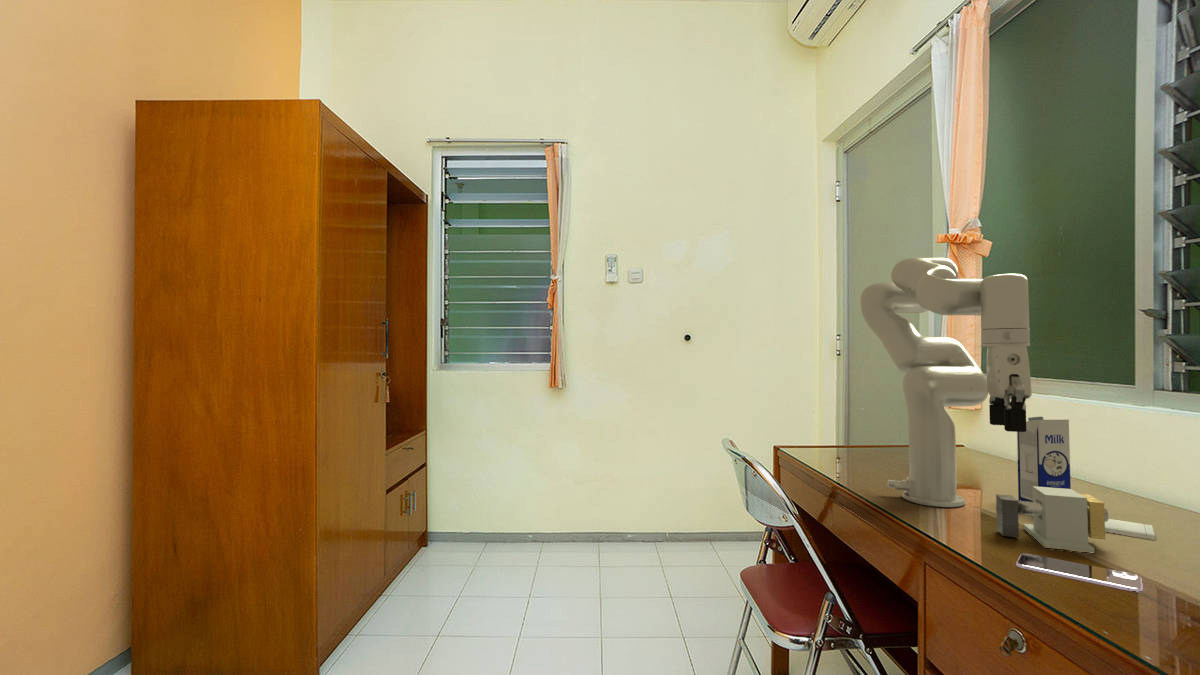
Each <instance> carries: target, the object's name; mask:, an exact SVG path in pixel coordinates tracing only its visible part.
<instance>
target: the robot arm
mask: <svg viewBox="0 0 1200 675" xmlns="http://www.w3.org/2000/svg"><path fill="white" fill-rule="evenodd" d="M890 276H891V277H890V278H891V280H892V281H885V282H884V281H883V282H881V281H880V282H876V283H873V284H870V285H868V286H866V287H865V288H864V289H863V290H862V292H861V295H860V309H861V314H862V316H863V318H864V321H865V323H866V324H867V326H868V328H870V330H871V331H872V332H873V333H874V335H876V336H877V338H878V339H879V340H880V342H881V343H882V345H883V347H884V349H885V350H886V351H887V353H888V355H889V356H890V359H891V361H892V362H893V363H894V365H895V366H896V368H897V369H898V370H899V371H900V372H902V373H904V376H903V379H902V390H903V395H904V398H905V404H906V410H907V419H908V420H907V421H908V422H907V423H908V424H907V425H908V427H907V428H908V430H907V431H908V461H909V462H908V466H909V468H908V469H909V476H906V479H902V480H896V479H887V488H889V489H894V490H898V491H899V490H900V491H902V490H903V491H902V493H901V495H902V498H903V499H904V500H906V501H908V502H911V503H913V504H918V505H924V506H928V507H937V508H938V507H939V508H957V507H963V506H964V505H965V504H966V500H965V498H964V497H963V496H961V495H959V494H957V493H958V491H957V452H956V450H957V448H956V446H957V445H956V444H957V443H956V441H957V440H956V426H955V424H954V421H953V419H952V417H951V416H950V415H949V413H948V412H947V410H946V409H945V408H946V407H949V408H950V407H974V406H978V405H981V404H982V403H984V402H985V401H986V400H987V398H988V395H989V396H990V397H989V405H988V408H989V424H990V425H992V426H1004V431H1005V432H1014V433H1017V432H1026V421H1027V410H1026V409H1027V404H1026V400H1028V399H1030V398H1031V397H1032V382H1031V380H1032V379H1031V370H1030V360H1029V355H1028V354H1029V352H1028V347H1031V343H1030V342H1031V340H1030V335H1031V333H1030V301H1029V281H1028V278H1027V276H1026V275H1023V274H1021V273H1002V274H1001V273H1000V274H994V275H989V276H985V277H984V278H982V279H980V278H959V270H958V266H957V265H956V263H955V262H953V261H952V259H949V258H945V257H910V258H909V257H908V258H905V259H902V260H900V261H898V262H897V263H896V264H895V265H894V266H893V267H892V270H891V274H890ZM928 311H929V312H932V313H933V314H937V315H942V316H948V317H949V316H976V317H977V316H980V329H981V330H980V332H981V336H980V337H981V339H980V340H981V347H987V348H986V349H987V350H986V375H985V374H984V372H983V370H982V369H981V368H980V367H979V365H978V364H977V363H976V361H975V360H974V359H973V357H972V356H971V354H970V353H969V352H968V350H967V349H966V348H965V346H963V344H962V343H960V342H959V341H958V340H956V339H955V338H952V337H948V336H926V335H921V334H920V332H919V331H917V329H916V328H915V326H914V325H913V324H912V323H911V322H910V321H909V320H908V319H906V318H904V317H903V316H901V315H899V314H922V313H926V312H928Z"/></svg>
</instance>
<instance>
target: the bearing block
mask: <svg viewBox="0 0 1200 675" xmlns="http://www.w3.org/2000/svg"><path fill="white" fill-rule="evenodd" d="M1032 488H1033V502H1038V503H1042V516H1036V515H1032V517H1033V518H1032V520H1033V521H1032V522H1033V523H1032V524H1031V523H1023V524H1022V529H1023V528H1024V529H1025V530H1026V531H1027V532H1028V533H1029V534H1028V533H1027V532H1026V531H1025V530H1024V529H1023V530H1024V531H1025V532H1026V533H1027V534H1028V535H1030V534H1031V535H1032V536H1033V537H1034V538H1035V539H1036V540H1037V541H1038V542H1039V543H1041V544H1042V545H1043V546H1044V547H1046V548H1057V549H1067V550H1074V551H1084V552H1093V553H1095V547H1094V546H1093V545H1091V544H1090V543H1089V536H1088V518H1087V498H1086V497H1084V496H1082V495H1081V494H1082V493H1079V492H1077V491H1075V490H1074V489H1072V488H1071V489H1064V488H1050V487H1036V486H1032ZM1031 535H1030V536H1031ZM1032 536H1031V537H1032ZM1033 537H1032V538H1033ZM1034 538H1033V539H1034ZM1035 539H1034V540H1035ZM1036 540H1035V541H1036ZM1037 541H1036V542H1037ZM1038 542H1037V543H1038ZM1039 543H1038V544H1039ZM1043 546H1042V547H1043ZM1044 547H1043V548H1044Z"/></svg>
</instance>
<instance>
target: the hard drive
mask: <svg viewBox="0 0 1200 675" xmlns="http://www.w3.org/2000/svg"><path fill="white" fill-rule="evenodd" d="M1107 532H1109V533H1108V534H1113V533H1115V534H1114V535H1119V534H1121V536H1125V535H1126V536H1128V537H1133V538H1138V539H1146V540H1152V541H1156V534H1155V531H1154V527H1153V525H1151V524H1144V523H1139V522H1133V521H1127V520H1125V521H1124V520H1118V519H1114V518H1113V519H1112V518H1108V521H1107V522H1105V533H1107Z"/></svg>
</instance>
